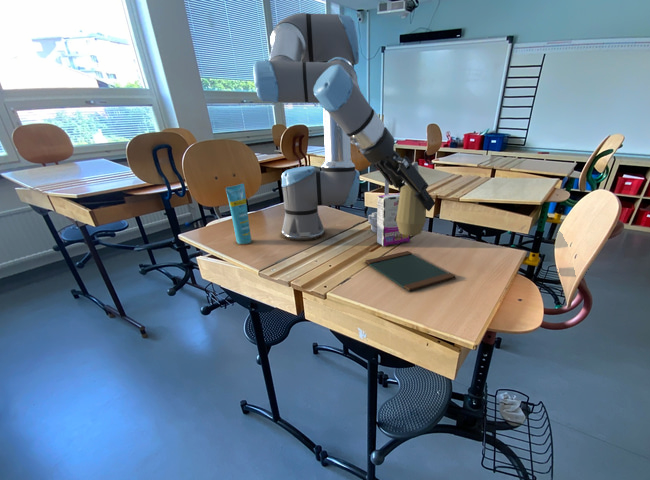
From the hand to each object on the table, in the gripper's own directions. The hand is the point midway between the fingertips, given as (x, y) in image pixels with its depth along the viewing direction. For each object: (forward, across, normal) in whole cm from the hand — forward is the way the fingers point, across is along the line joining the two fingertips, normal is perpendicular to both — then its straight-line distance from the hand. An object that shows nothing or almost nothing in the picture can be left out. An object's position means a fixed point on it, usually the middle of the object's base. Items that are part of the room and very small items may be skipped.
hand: (422, 203), depth 90 cm
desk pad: (+11, 0, -16) cm, 19 cm away
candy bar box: (+18, -22, -9) cm, 30 cm away
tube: (-14, -48, -40) cm, 64 cm away
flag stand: (+22, -36, -4) cm, 43 cm away
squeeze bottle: (+3, 0, -8) cm, 8 cm away
